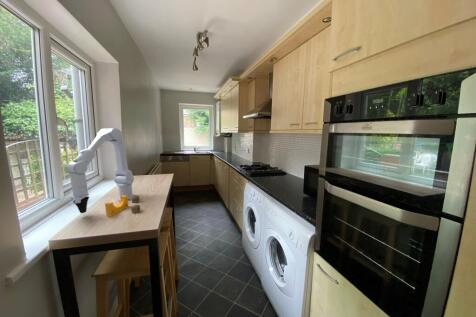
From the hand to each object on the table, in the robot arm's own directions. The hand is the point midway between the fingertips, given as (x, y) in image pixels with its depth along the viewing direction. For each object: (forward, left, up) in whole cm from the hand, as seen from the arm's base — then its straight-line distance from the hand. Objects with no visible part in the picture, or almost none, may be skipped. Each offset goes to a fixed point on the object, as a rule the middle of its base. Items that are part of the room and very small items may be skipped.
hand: (83, 212), depth 94 cm
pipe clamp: (+1, +14, -2) cm, 14 cm away
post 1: (-8, +23, -2) cm, 24 cm away
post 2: (+8, +23, -2) cm, 24 cm away
